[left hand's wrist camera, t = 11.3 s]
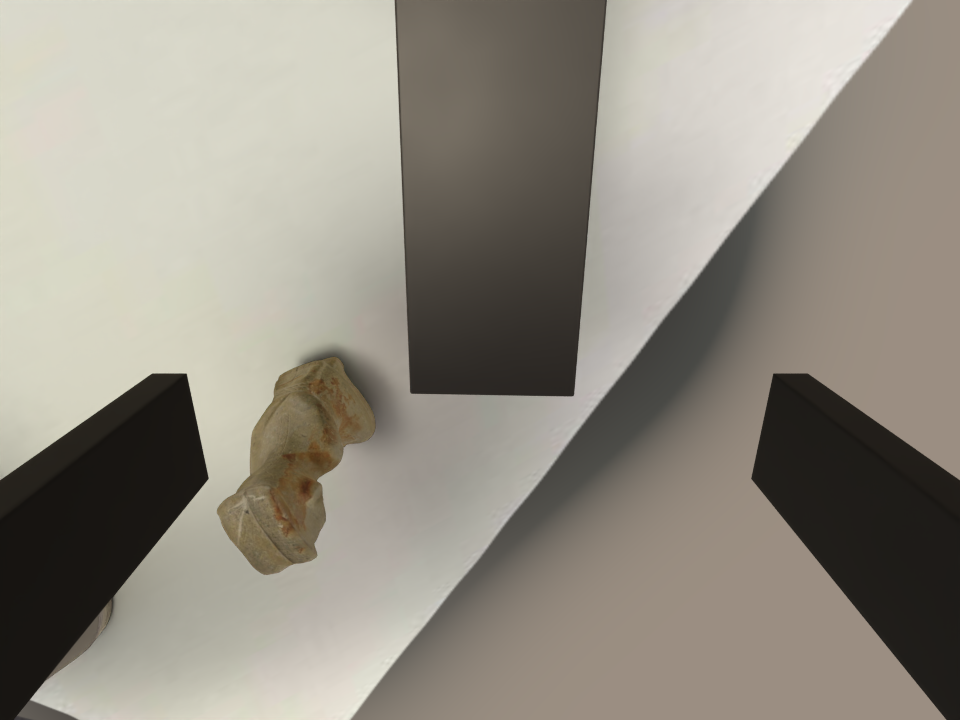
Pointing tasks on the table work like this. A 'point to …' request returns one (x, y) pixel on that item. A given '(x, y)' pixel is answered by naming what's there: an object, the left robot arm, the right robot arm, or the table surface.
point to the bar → (496, 188)
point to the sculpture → (294, 464)
